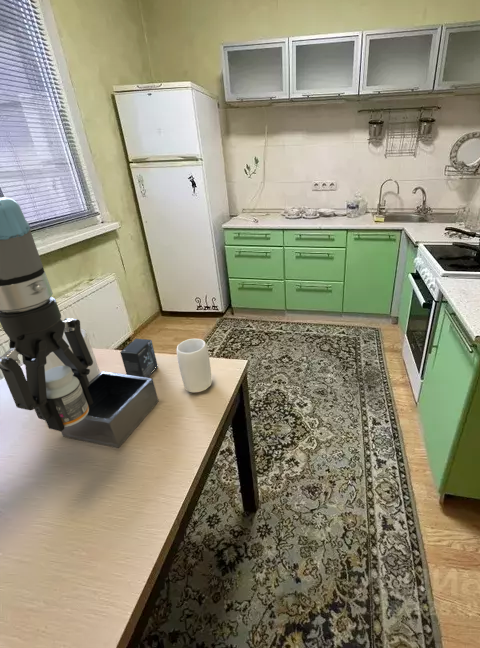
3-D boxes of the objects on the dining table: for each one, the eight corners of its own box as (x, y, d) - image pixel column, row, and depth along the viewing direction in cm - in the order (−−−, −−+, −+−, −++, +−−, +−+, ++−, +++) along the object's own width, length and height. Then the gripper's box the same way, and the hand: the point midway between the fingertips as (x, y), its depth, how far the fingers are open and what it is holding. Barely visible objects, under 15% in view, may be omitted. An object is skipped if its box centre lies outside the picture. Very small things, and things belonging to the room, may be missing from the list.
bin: (63, 437, 79) (51, 412, 76) (110, 393, 93) (102, 371, 90) (118, 448, 76) (109, 423, 72) (158, 401, 89) (152, 378, 86)
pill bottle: (47, 423, 59) (27, 379, 55) (76, 402, 64) (59, 361, 59) (69, 432, 57) (49, 387, 53) (97, 409, 62) (81, 367, 57)
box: (144, 382, 97) (136, 353, 92) (128, 381, 98) (119, 351, 93) (158, 367, 104) (151, 339, 99) (143, 365, 105) (135, 337, 100)
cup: (217, 378, 98) (211, 338, 92) (206, 397, 90) (199, 355, 84) (191, 376, 99) (183, 336, 93) (178, 394, 92) (169, 353, 86)
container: (113, 388, 95) (95, 335, 88) (60, 419, 85) (35, 362, 77) (88, 372, 103) (70, 322, 95) (37, 398, 92) (12, 345, 84)
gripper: (-22, 336, 41) (42, 462, 51) (92, 282, 57) (124, 385, 67) (-64, 330, 43) (6, 452, 53) (58, 279, 59) (94, 380, 69)
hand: (72, 415), depth 60 cm, fingers closed on pill bottle, 6 cm apart
